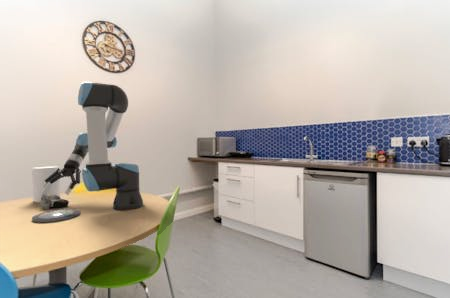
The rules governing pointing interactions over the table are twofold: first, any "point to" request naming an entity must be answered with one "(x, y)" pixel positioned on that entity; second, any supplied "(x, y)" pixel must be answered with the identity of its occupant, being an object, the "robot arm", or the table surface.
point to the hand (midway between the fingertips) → (55, 193)
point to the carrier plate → (55, 215)
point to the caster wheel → (52, 201)
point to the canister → (39, 182)
